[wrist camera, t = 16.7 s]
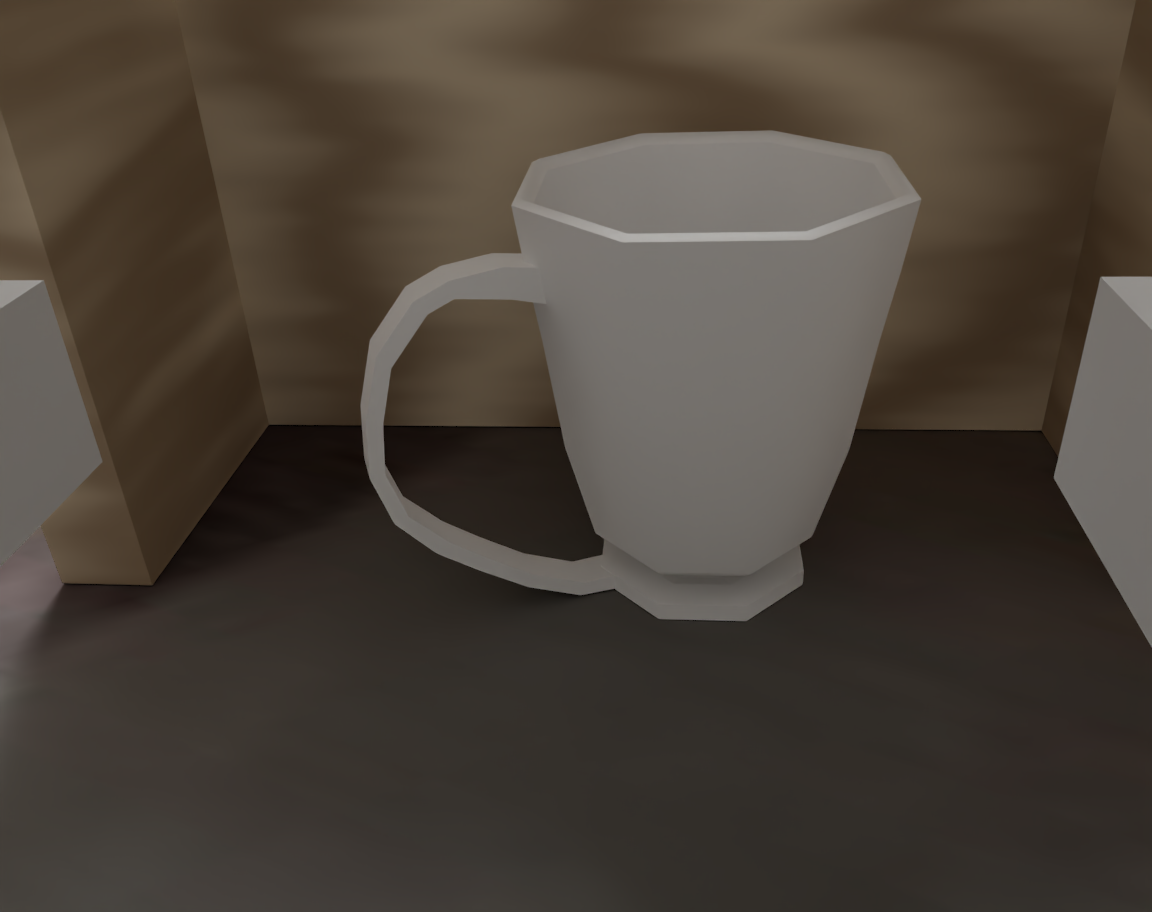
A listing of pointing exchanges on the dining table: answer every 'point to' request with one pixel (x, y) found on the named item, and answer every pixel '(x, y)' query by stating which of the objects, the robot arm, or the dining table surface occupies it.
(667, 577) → the cup
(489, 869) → the dining table surface
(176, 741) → the dining table surface
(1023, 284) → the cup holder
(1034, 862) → the dining table surface
